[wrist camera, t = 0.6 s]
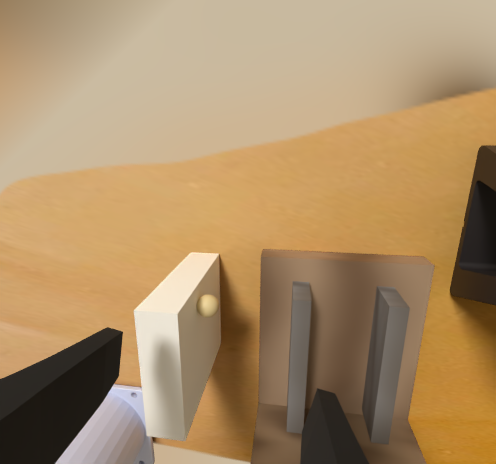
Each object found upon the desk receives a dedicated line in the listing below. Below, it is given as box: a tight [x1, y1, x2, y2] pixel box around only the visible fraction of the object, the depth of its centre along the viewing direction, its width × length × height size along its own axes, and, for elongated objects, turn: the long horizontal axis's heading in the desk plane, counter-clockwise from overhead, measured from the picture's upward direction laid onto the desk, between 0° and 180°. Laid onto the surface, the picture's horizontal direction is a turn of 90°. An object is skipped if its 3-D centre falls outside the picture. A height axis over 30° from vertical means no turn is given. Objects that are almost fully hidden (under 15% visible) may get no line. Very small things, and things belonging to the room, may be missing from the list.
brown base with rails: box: [251, 249, 434, 464], centre depth 18 cm, size 10×12×6 cm
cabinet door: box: [134, 252, 221, 441], centre depth 18 cm, size 3×7×8 cm, turn 0°
